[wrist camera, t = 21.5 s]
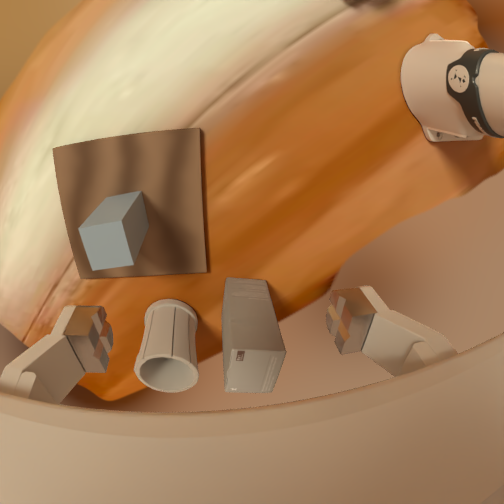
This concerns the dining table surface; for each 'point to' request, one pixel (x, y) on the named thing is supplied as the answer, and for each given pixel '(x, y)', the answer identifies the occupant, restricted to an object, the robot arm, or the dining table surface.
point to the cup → (168, 347)
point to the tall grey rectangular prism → (115, 231)
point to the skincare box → (250, 337)
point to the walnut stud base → (153, 191)
